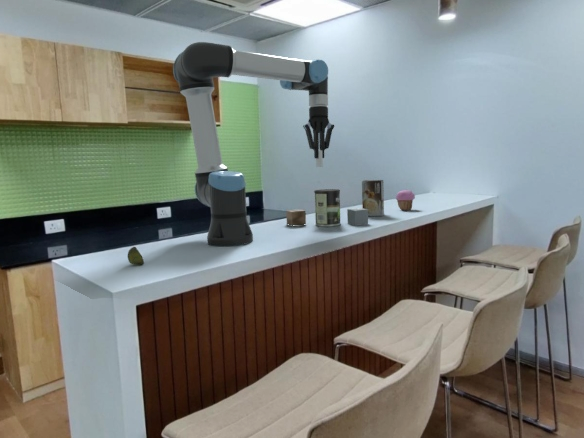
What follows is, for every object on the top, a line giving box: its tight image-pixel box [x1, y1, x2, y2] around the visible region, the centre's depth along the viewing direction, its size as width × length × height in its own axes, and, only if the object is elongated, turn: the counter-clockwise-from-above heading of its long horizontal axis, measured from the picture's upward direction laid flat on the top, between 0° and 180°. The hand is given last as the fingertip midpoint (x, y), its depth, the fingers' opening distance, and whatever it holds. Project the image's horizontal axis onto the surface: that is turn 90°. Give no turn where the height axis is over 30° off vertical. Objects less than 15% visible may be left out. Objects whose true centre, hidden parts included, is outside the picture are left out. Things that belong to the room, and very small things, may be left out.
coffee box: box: [361, 179, 385, 217], centre depth 192 cm, size 9×6×16 cm
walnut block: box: [285, 208, 307, 227], centre depth 172 cm, size 6×6×6 cm
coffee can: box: [313, 188, 341, 227], centre depth 169 cm, size 10×10×14 cm
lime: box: [127, 246, 145, 266], centre depth 112 cm, size 4×5×5 cm
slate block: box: [346, 207, 369, 226], centre depth 169 cm, size 6×6×6 cm
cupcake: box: [395, 189, 416, 211], centre depth 207 cm, size 9×9×10 cm
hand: (319, 166), depth 169 cm, fingers closed
